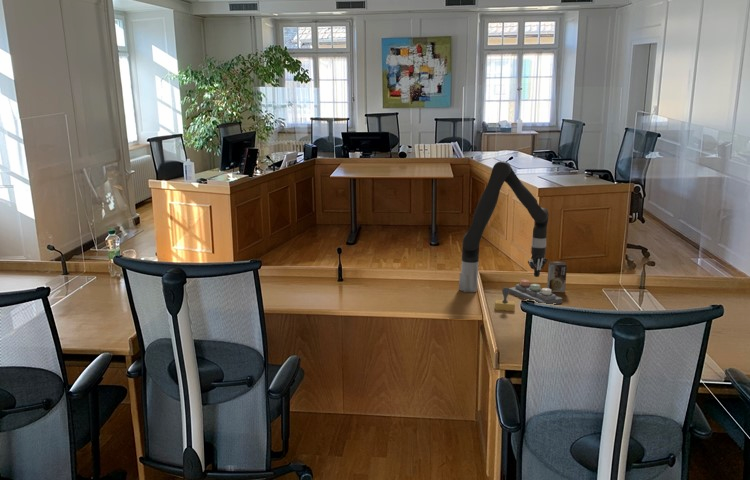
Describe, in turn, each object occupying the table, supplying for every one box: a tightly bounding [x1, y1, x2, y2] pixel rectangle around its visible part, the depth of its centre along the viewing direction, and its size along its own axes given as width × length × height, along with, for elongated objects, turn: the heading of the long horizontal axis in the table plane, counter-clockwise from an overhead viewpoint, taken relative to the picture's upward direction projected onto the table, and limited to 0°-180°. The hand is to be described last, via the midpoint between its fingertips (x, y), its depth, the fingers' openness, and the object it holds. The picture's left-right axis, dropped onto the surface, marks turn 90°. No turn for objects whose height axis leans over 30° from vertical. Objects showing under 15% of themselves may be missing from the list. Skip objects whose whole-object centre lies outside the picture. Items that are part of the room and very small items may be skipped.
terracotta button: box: [519, 279, 531, 287], centre depth 342 cm, size 5×5×2 cm
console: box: [508, 283, 563, 305], centre depth 337 cm, size 14×26×4 cm, turn 30°
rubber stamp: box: [494, 286, 516, 312], centre depth 319 cm, size 10×6×12 cm, turn 78°
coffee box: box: [546, 261, 568, 293], centre depth 347 cm, size 9×6×16 cm
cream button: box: [541, 287, 552, 296], centre depth 329 cm, size 5×5×2 cm
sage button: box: [530, 283, 541, 291], centre depth 336 cm, size 5×5×2 cm
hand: (536, 276), depth 334 cm, fingers closed
